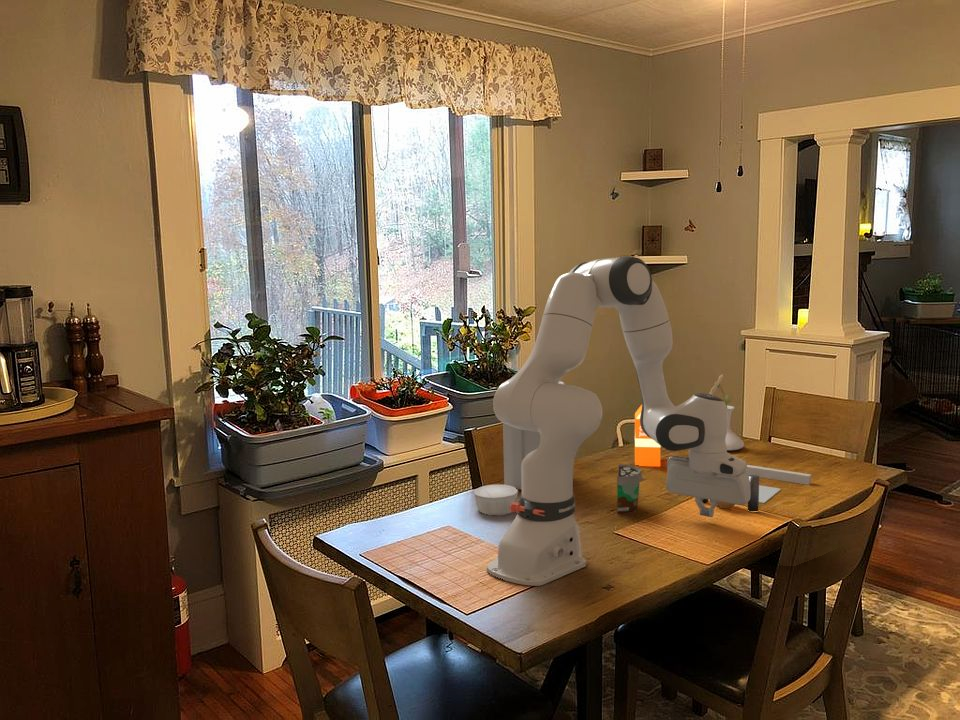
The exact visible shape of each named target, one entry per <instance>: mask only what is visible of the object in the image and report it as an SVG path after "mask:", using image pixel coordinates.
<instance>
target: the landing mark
mask: <svg viewBox="0 0 960 720" xmlns="http://www.w3.org/2000/svg"><path fill="white" fill-rule="evenodd" d="M781 490H782V489H781V488H778V487H772V486H767V485H761V484H759V504H765V503H767V502H768V501H769V500H770V499H772V497H774V496H775V495H776V494H778V493H779V492H780V491H781Z"/></svg>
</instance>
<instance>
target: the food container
mask: <svg viewBox="0 0 960 720" xmlns="http://www.w3.org/2000/svg"><path fill="white" fill-rule="evenodd" d="M616 477H617V478H616V483H617V484H616V487H617V490H616V492H617V493H616V494H617V495H616V497H617V498H616V501H617V502H616V507H617V509H616V512H617V514H618V515H624V514H631V513H634V512H636V511H638V508H639V507H638V505H639V496H640V495H639V493H640V482H642V481H643V476H642V472H641V469H640V468H638V466H635V465H634V466H633V465H630V464H629V465H628V464H623V463H622V464H621V463H619V464H618V474H617V476H616Z"/></svg>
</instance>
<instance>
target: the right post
mask: <svg viewBox="0 0 960 720" xmlns="http://www.w3.org/2000/svg"><path fill="white" fill-rule="evenodd" d="M748 476H749V480H750V490H751V497H750V500H749V501H748V502H747V511H748V510H749V511H758V512H759V508H760V507H759V506H760V505H759V504H760V503H759V485H760V477H759V476H758V475H748ZM749 511H748V512H749Z"/></svg>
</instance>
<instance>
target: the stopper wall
mask: <svg viewBox="0 0 960 720" xmlns="http://www.w3.org/2000/svg"><path fill="white" fill-rule="evenodd" d="M744 472H746V473H747V474H748V476H749V475H758V476H759V478H762V479H769V480H775V481H781V482H787V483H788V482H789V483H793V484H799V485H800V484H801V485H806V486H809V485H811V484H812V474H810V473H804V472H803V473H802V472H798V471H790V470H784V469H783V470H782V469H777V468H771V467H765V466H764V467H763V466H758V465H752V464H751V465H750V464H747V469H746V470H745V471H744Z"/></svg>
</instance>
